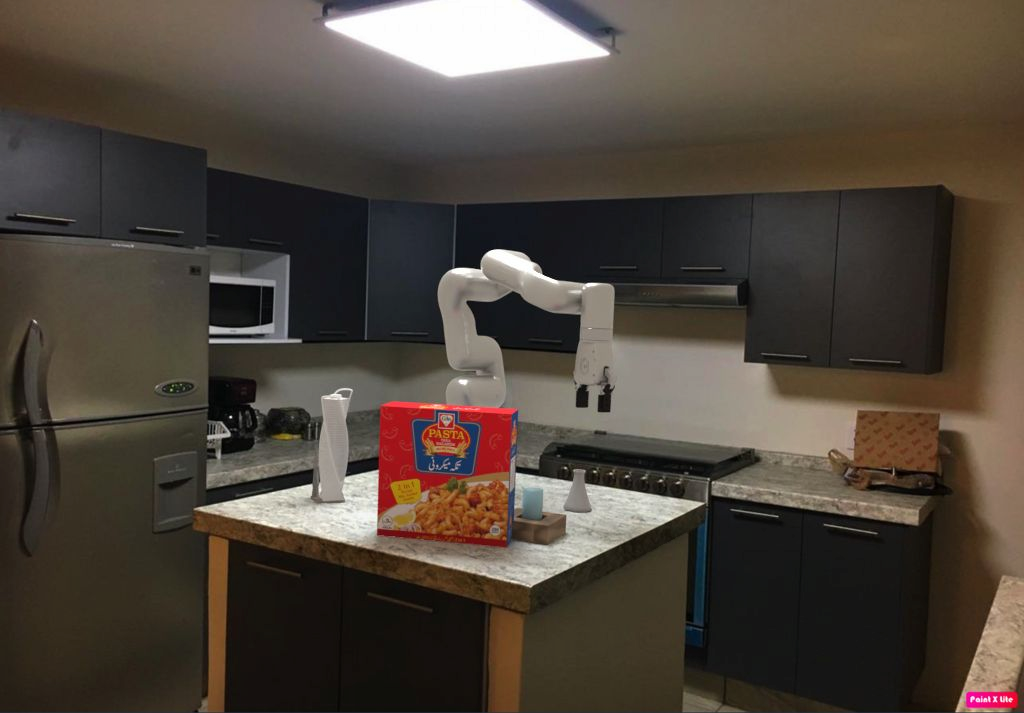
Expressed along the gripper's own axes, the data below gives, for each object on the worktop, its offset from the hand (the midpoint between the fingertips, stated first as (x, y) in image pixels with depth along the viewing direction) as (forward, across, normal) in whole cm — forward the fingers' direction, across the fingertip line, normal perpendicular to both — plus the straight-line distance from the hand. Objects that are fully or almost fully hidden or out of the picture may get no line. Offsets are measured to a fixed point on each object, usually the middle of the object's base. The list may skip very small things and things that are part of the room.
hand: (592, 409), depth 197 cm
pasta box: (+27, +1, -36) cm, 45 cm away
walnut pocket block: (+27, +5, -17) cm, 32 cm away
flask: (+27, -14, +6) cm, 31 cm away
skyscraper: (+27, -39, -51) cm, 70 cm away
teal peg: (+27, +5, -17) cm, 32 cm away
